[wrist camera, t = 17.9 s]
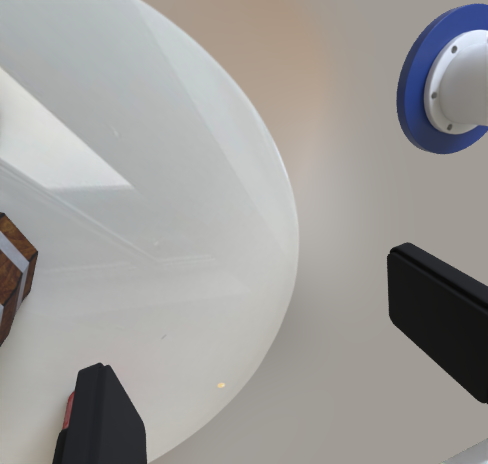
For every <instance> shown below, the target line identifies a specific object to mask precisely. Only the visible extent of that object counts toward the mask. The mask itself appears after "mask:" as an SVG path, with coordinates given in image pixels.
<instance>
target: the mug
mask: <svg viewBox="0 0 488 464" xmlns="http://www.w3.org/2000/svg"><path fill="white" fill-rule="evenodd" d="M37 255H38V251H37V250H36V249H35V248H34V246H33V245H32V244H31V243H30V242H29V241H28V240H27V239H26V237H25V236H24V235H23V234H22V233H21V232H20V231H19V229H18V228H17V227H16V226H15V225H14V224H13V223H12V222H11V220H10V219H9V218H8V217H7V216H6V215H5V214H4V213H1V212H0V346H1V345H2V343H3V342H4V340H5V339H6V337H7V336H8V334H9V331H10V328H11V325H12V323H13V320H14V317H15V314H16V312H17V310H18V308H19V306H20V304H21V302H22V301H23V300H24V299H25V297H26V296H27V295H28V294H29V292H30V289H31V285H32V280H33V275H34V270H35V265H36V260H37Z"/></svg>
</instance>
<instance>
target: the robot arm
mask: <svg viewBox="0 0 488 464" xmlns="http://www.w3.org/2000/svg"><path fill="white" fill-rule="evenodd" d="M424 107H425V111H426V115H427V117H428V119H429V121H430V123H431V124H432V125H433V126H434V128H436V129H437V130H439V131H440V132H444V133H448V134H462V133H465V132H468V131H470V130H472V129H473V128H475V127H476V126H478V125H483V126H488V31H486V30H474V31H469V32H465V33H462V34H460V35H458V36H457V37H455V38H454V39H452V40H451V41H450V42H449V43H447V44H446V46H445V47H444V48H443V49H442V50H441V51H440V53H439V54H438V56H437V57H436V59H435V60H434V62H433V64H432V66H431V68H430V71H429V73H428V76H427V79H426V84H425V89H424ZM387 269H388V270H387V272H388V300H389V316H390V319H391V321H392V322H393V324H394V325H395V326H396V327H397V328H399V329H400V330H401V331H402V332H403V333H404V334H405V335H406V336H407V337H408V338H410V339H411V340H412V341H413V342H414V343H415V344H416V345H417V346H418V347H419V348H421V349H422V350H423V351H424V352H425V353H426V354H427V355H428V356H429V357H430V358H432V359H433V360H434V361H435V362H436V363H437V364H438V365H439V366H440V367H441V368H443V369H444V370H445V371H446V372H447V373H448V374H449V375H450V376H451V377H453V379H455V380H456V381H457V382H458V383H459V384H460V385H461V386H462V387H463V388H464V389H466V390H467V391H468V392H469V393H470V394H471V395H472V396H473V397H474V398H475V399H477V400H478V401H480V402H481V403H487V404H488V286H486V285H484V284H482V283H480V282H479V281H477V280H475V279H474V278H472V277H470V276H468V275H466V274H465V273H463V272H461V271H459V270H458V269H456V268H454V267H452V266H451V265H449V264H447V263H445V262H443V261H441V260H440V259H438V258H436V257H435V256H433V255H431V254H429V253H427V252H426V251H424V250H422V249H420V248H419V247H417V246H415V245H413V244H411V243H404V244H402V245H399V246H396V247H394V248H392V249H391V250H390V254H388V256H387ZM52 464H147V454H146V433H145V427H144V424H143V421H142V419H141V417H140V416H139V414H138V412H137V411H136V409H135V407H134V405H133V404H132V402H131V400H130V399H129V397H128V395H127V393H126V392H125V390H124V388H123V387H122V385H121V383H120V381H119V380H118V378H117V376H116V375H115V373H114V371H113V369H112V368H111V366H110V365H106V366H103V364H102V363H97V364H95V365H92V366H90V367H87V368H84V369H82V370H80V371H79V372H78V376H77V381H76V387H75V392H74V398H73V403H72V409H71V414H70V419H69V425H68V427H67V428H65V429H62V430H61V432H60V433H59V436H58V439H57V444H56V448H55V453H54V458H53V463H52ZM440 464H488V439H486V440H484V441H482V442H480V443H478V444H476V445H474V446H472V447H471V448H468V449H467V450H465V451H463V452H461V453H459V454H457V455H455V456H453V457H451V458H450V459H448V460H446V461H444V462H442V463H440Z"/></svg>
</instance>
